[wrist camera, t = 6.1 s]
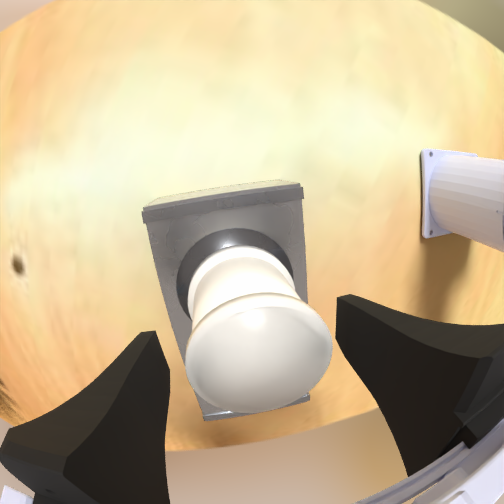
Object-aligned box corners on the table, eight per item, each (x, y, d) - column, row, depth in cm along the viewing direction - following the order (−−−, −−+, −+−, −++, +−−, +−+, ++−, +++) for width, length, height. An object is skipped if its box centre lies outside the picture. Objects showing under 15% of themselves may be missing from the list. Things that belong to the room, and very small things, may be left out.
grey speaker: (279, 179, 18) (302, 183, 14) (293, 366, 23) (309, 401, 19) (156, 198, 17) (140, 208, 13) (202, 383, 22) (205, 422, 18)
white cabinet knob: (293, 243, 14) (346, 291, 9) (286, 332, 16) (321, 403, 10) (185, 246, 14) (173, 301, 8) (192, 339, 15) (192, 418, 10)
